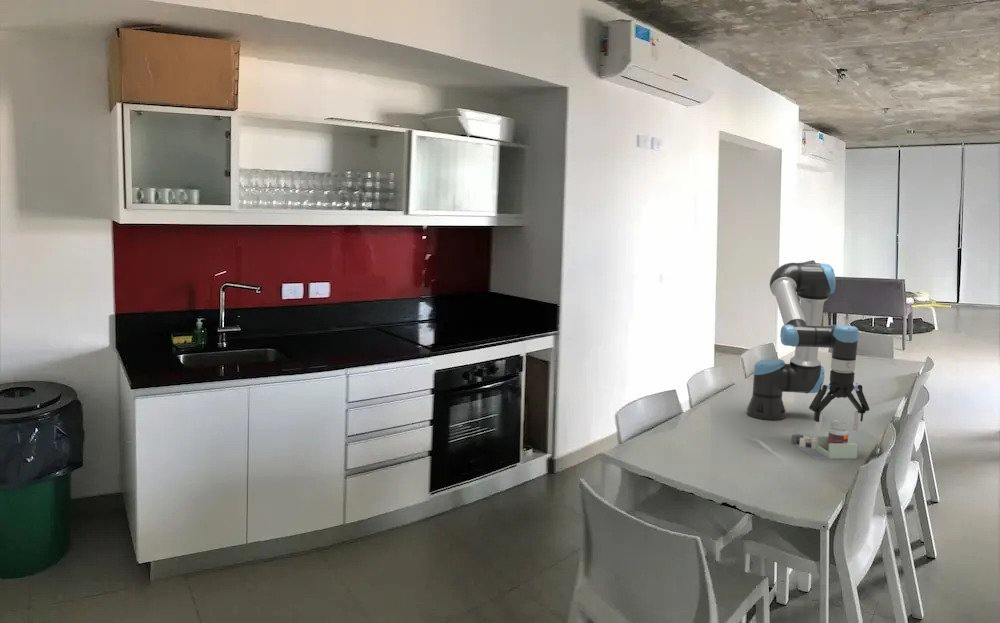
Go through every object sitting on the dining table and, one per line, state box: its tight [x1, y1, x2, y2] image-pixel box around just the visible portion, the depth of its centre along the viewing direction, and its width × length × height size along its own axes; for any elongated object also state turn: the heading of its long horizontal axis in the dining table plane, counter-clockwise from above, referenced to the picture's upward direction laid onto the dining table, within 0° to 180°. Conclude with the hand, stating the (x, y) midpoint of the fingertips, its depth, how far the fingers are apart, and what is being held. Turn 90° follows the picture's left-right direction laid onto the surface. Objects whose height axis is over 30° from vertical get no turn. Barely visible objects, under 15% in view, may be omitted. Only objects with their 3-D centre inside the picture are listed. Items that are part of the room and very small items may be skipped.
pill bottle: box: [827, 419, 849, 451], centre depth 253 cm, size 6×6×11 cm
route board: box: [791, 433, 858, 460], centre depth 258 cm, size 19×15×4 cm
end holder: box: [815, 435, 859, 460], centre depth 253 cm, size 10×10×5 cm
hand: (837, 430), depth 253 cm, fingers open, 13 cm apart
